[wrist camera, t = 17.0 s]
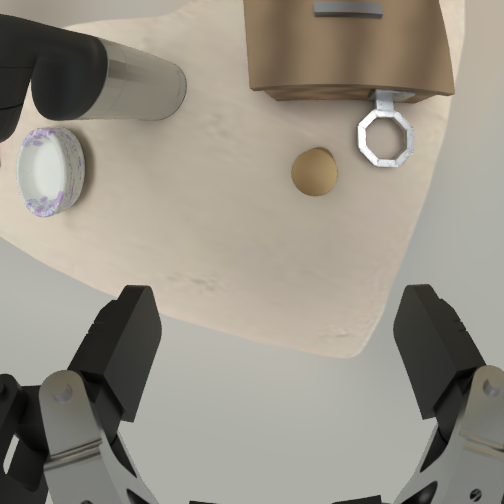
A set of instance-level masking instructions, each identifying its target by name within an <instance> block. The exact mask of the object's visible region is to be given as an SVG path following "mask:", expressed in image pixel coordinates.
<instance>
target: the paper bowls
mask: <svg viewBox="0 0 504 504" xmlns="http://www.w3.org/2000/svg"><path fill="white" fill-rule="evenodd" d="M84 177H85V160H84V156H83V151H82V148H81V145H80V143H79V141H78V140H77V138H76V136H75V135H74V134H72V133H71V132H70V131H69V130H68V129H66V128H63V127H46V128H37V129H35V130H33V131H32V132H31V133H29V135H28V136H27V137H26V138H25V139H24V141H23V143H22V145H21V147H20V150H19V153H18V157H17V164H16V179H17V185H18V189H19V193H20V196H21V198H22V200H23V202H24V204H25V205H26V207H27V208H28V209H29V210H30V211H31V212H32V213H33V214H35V215H36V216H39V217H49V216H52V215H54V214H57V213H60V212H62V211H65V210H67V209H69V208H70V207H71V206H72V205H73V204H74V203H75V202H76V201H77V199H78V198H79V196H80V193H81V190H82V187H83V183H84Z"/></svg>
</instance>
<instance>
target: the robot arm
mask: <svg viewBox="0 0 504 504" xmlns="http://www.w3.org/2000/svg"><path fill="white" fill-rule="evenodd" d="M30 79H31V91H32V97H33V101H34V104H35V106H36V108H37V110H38V112H39V113H40V114H41V115H42V116H43V117H45V118H47V119H50V120H54V121H64V120H89V119H137V120H160V119H164V118H166V117H168V116H170V115H171V114H173V113H174V112H175V111H176V110H177V109H178V107H179V106H180V104H181V103H182V101H183V99H184V96H185V92H186V81H185V77H184V74H183V72H182V71H181V69H180V68H179V67H178V66H176V65H175V64H173V63H171V62H168V61H166V60H163V59H161V58H158V57H156V56H153V55H150V54H148V53H145V52H142V51H139V50H136V49H133V48H130V47H127V46H124V45H121V44H118V43H115V42H111V41H108V40H105V39H101V38H98V37H94V36H91V35H87V34H82V33H78V32H73V31H69V30H65V29H61V28H56V27H53V26H49V25H45V24H42V23H38V22H34V21H31V20H27V19H23V18H19V17H14V16H9V15H4V14H0V143H1V142H3V141H5V140H6V139H8V138H9V137H10V136H11V135H12V134H13V132H14V131H15V129H16V126H17V124H18V121H19V118H20V114H21V111H22V107H23V104H24V100H25V96H26V93H27V89H28V86H29V83H30ZM161 327H162V326H161V321H160V317H159V313H158V310H157V306H156V302H155V299H154V295H153V291H152V289H151V287H150V286H143V285H126V286H125V287H124V289H123V291H122V292H121V294H120V296H119V297H118V299H117V300H112V301H110V302H109V303H108V304H107V305H106V306H105V307H103V308H102V309H101V310H100V312H99V314H98V315H97V317H96V319H95V320H94V324H92V325H91V327H90V329H89V330H88V334H86V336H85V337H84V339H83V341H82V343H81V345H80V347H79V348H78V350H77V352H76V354H75V356H74V358H73V360H72V361H71V363H70V365H69V367H68V368H67V370H61V371H57V372H55V373H53V374H51V375H50V376H49V377H47V378H46V379H45V380H44V382H43V383H42V385H38V386H37V385H36V386H20V385H19V384H18V382H17V381H16V379H15V378H14V377H13V376H12V375H9V374H1V375H0V504H45V502H46V498H47V494H48V490H49V492H50V495H51V498H52V501H53V504H159V503H158V502H157V500H156V498H155V497H154V495H153V494H152V493H151V491H150V490H149V489H148V487H147V486H146V485H145V483H144V482H143V480H142V479H141V476H140V475H139V473H138V471H137V469H136V467H135V465H134V463H133V461H132V459H131V456H130V454H129V452H128V450H127V448H126V446H125V444H124V441H123V439H122V437H121V434H120V432H119V431H118V427H119V423H120V421H121V420H122V421H127V422H134V419H135V416H136V412H137V409H138V406H139V403H140V400H141V396H142V393H143V390H144V387H145V384H146V381H147V378H148V375H149V372H150V369H151V366H152V363H153V360H154V357H155V354H156V351H157V349H158V346H159V343H160V340H161V333H162V328H161ZM393 332H394V338H395V341H396V344H397V346H398V349H399V352H400V354H401V357H402V359H403V363H404V365H405V368H406V371H407V374H408V376H409V379H410V382H411V385H412V388H413V391H414V394H415V397H416V400H417V403H418V406H419V409H420V412H421V415H422V419H423V420H424V419H429V418H433V417H436V419H437V422H438V423H437V424H436V425H435V427H434V429H433V431H432V434H431V436H430V439H429V441H428V444H427V446H426V448H425V451H424V453H423V455H422V457H421V460H420V462H419V464H418V466H417V468H416V470H415V472H414V474H413V476H412V477H411V479H410V481H409V482H408V483H407V484H406V486H405V487H404V488H403V489H402V491H401V492H400V494H399V495H398V496H397V498H396V500H395V502H394V503H393V504H500V503H501V504H504V372H503V371H502V370H501V369H499V368H498V367H495V366H491V365H486V363H485V361H484V360H483V358H482V356H481V354H480V352H479V350H478V349H477V347H476V345H475V344H474V342H473V340H472V338H471V336H470V335H469V333H468V332H467V331H466V328H465V326H464V325H463V323H462V322H460V318H459V317H458V315H457V313H456V312H455V310H454V309H453V308H452V307H451V306H450V305H449V304H448V303H447V302H445V301H444V300H443V299H439V298H438V296H437V294H436V293H435V291H434V290H433V288H432V287H431V286H430V285H429V284H421V285H408V286H406V288H405V290H404V293H403V296H402V299H401V302H400V306H399V309H398V312H397V315H396V318H395V321H394V328H393ZM13 435H15V436H16V437H17V438H18V439H19V441H18V444H17V447H16V450H15V452H14V455H13V458H12V461H11V464H10V468H9V470H8V473H7V474H5V472H4V468H3V463H4V459H5V457H6V454H7V451H8V448H9V446H10V443H11V440H12V438H13ZM189 504H214V503H204V502H197V501H190V502H189ZM332 504H389V503H382V502H381V496H380V495H377V496H372V497H367V498H361V499H355V500H348V501H341V502H335V503H332Z"/></svg>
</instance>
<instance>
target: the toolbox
mask: <svg viewBox="0 0 504 504" xmlns="http://www.w3.org/2000/svg"><path fill="white" fill-rule="evenodd" d="M243 1H244V15H245V28H246V42H247V56H248V70H249V85H250V89H252V90H253V91H261V90H263V91H265V92H266V93H267V94H269V95H270V96H271V97H273V98H274V99H275V100H277V101H284V100H309V99H354V100H368V97H367V94H368V93H369V92H370V91H371V90H372V89H389V90H402V91H412V92H415V95H414V96H412V97H410V98H408V99H406V100H404V101H402V102H406V103H417V102H419V101H422V100H424V99H427V98H429V97H432V96H434V95H444V96H450V95H453V94H455V89H454V80H453V72H452V65H451V58H450V52H449V46H448V40H447V35H446V30H445V25H444V21H443V16H442V12H441V8H440V4H439V0H243ZM394 102H398V101H394Z"/></svg>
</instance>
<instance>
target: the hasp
mask: <svg viewBox="0 0 504 504" xmlns="http://www.w3.org/2000/svg"><path fill="white" fill-rule="evenodd" d="M414 95H415V92H412V91H402V90H389V89H372V90H371V91H370V92H369V93H368V94H367V97H368V100H374V110H372V111H371V112H370V113H369V114H368V115H367V116H366V117H365V118H364V119H363V120H362V121H361V122H360V123H359V124H358V125H357V127H356V128H357V148H359V149H358V150H359V151H360V152H361V153H362V154H363V155H364V156H365V157H366V158H367V159H368V160H369V161H370V162H371V163H372V164H373V165H375V166H382V167H397V166H400V165H401V164H402V163H403V162H404V161H405V160H406V159H407V158H408V157H409V156H410V155H411V154H412V153H413V151H414V132H413V129H412V128H413V127H412V126H411V125H410V124H409V123H408V122H407V121H406V120H405V119H404V118H403V117H402V116H401V114H400V113H399V112H398V111H397V112H396V111H395V110H394V106H393V101H398V102H402V101H404V100H406V99H408V98H410V97H412V96H414ZM375 118H391V119H392V120H393V121H394V122H395V123H396V124H397V125H398V126H399V127H400V128H401V129H402V131H403V149H402V150H401V151H400V152H399V153H398V154H397V155H396V156H395V157H394V158H393V159H378V158H377V157H376V156H375V155H374V154H373V153H372V152H371V151H370V150H369V149H368V148H367V147H366V138H365V128H366V127H367V126H368V125H369V124H370V123H371V122H372V121H373V120H374V119H375Z"/></svg>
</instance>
